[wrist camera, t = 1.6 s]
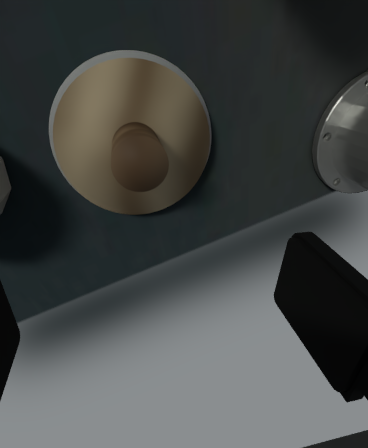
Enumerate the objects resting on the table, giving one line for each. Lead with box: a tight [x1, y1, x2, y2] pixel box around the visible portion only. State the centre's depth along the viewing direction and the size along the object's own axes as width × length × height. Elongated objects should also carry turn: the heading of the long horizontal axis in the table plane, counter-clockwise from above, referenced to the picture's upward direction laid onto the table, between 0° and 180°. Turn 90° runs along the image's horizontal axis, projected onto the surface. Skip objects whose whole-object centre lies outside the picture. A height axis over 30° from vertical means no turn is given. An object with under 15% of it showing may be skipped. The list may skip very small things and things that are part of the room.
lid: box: [53, 58, 210, 215], centre depth 22 cm, size 13×13×6 cm
